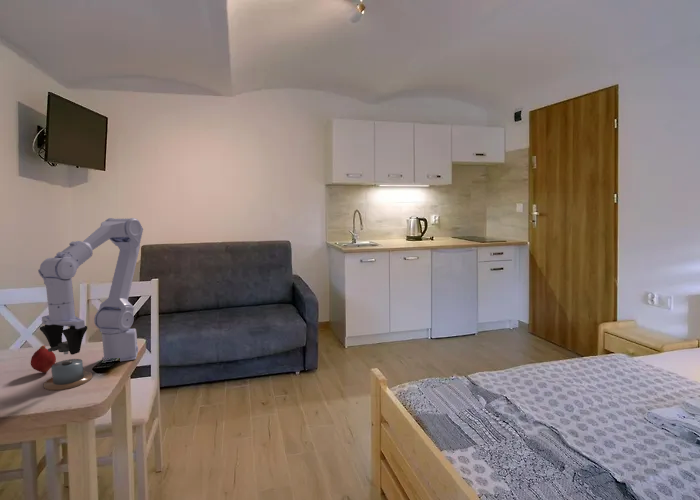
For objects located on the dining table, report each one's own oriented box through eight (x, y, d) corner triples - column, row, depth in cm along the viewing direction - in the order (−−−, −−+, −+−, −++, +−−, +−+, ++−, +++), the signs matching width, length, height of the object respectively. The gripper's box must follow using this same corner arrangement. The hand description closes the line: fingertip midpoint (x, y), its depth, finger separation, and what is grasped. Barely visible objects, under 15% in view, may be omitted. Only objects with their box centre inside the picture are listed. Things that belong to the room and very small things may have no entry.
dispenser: (95, 370, 121) (94, 352, 120) (88, 385, 111) (86, 365, 110) (50, 377, 117) (48, 358, 116) (38, 393, 107) (36, 372, 106)
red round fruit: (37, 378, 116) (34, 350, 115) (28, 374, 119) (25, 347, 118) (60, 371, 121) (58, 344, 120) (51, 367, 124) (48, 341, 123)
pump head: (74, 350, 115) (73, 340, 115) (70, 356, 111) (69, 345, 110) (53, 353, 113) (52, 342, 113) (48, 359, 109) (47, 348, 109)
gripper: (27, 303, 111) (33, 353, 112) (63, 308, 105) (68, 360, 106) (55, 297, 117) (60, 344, 119) (90, 301, 111) (94, 351, 113)
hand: (65, 351), depth 113 cm, fingers open, 7 cm apart
